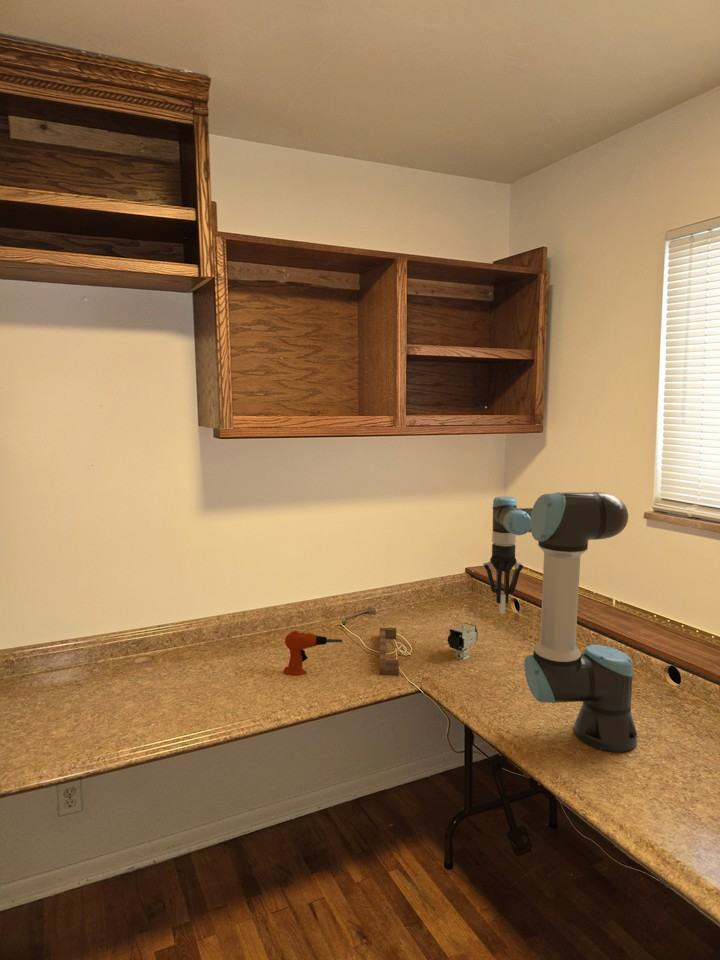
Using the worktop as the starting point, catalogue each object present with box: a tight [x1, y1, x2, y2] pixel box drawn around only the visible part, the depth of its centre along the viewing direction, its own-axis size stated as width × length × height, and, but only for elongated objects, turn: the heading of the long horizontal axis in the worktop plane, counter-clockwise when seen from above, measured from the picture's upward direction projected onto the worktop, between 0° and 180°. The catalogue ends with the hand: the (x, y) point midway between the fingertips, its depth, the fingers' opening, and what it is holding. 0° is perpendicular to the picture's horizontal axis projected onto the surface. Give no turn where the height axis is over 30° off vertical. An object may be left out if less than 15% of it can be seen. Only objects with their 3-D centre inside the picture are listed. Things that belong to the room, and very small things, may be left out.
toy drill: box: [283, 630, 343, 677], centre depth 187 cm, size 5×19×15 cm, turn 87°
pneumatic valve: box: [447, 622, 479, 661], centre depth 200 cm, size 6×12×12 cm, turn 137°
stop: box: [379, 627, 400, 677], centre depth 202 cm, size 30×6×5 cm, turn 178°
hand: (501, 612), depth 199 cm, fingers closed
